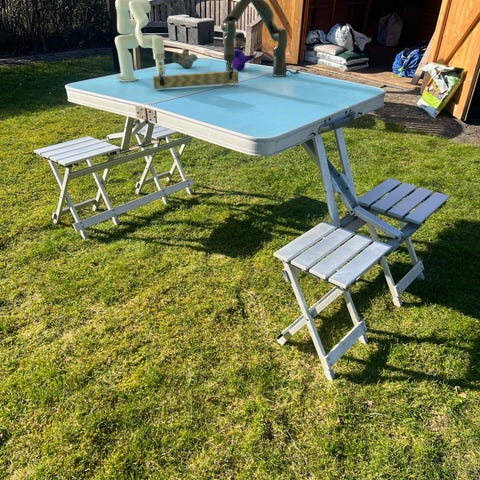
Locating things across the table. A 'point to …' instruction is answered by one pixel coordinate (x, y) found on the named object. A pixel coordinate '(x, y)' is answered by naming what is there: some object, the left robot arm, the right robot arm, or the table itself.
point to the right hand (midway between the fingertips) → (230, 78)
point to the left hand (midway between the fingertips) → (161, 84)
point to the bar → (195, 79)
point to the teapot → (184, 59)
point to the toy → (241, 59)
